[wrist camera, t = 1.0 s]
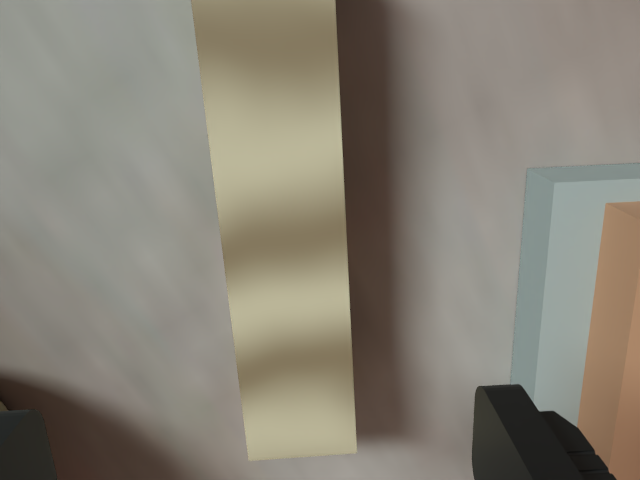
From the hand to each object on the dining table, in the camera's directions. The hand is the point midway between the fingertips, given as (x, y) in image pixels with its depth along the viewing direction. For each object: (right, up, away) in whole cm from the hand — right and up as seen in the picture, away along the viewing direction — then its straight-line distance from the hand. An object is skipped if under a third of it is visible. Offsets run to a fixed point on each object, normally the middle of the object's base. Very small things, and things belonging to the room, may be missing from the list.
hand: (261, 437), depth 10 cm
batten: (-1, +6, +16) cm, 18 cm away
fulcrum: (+15, -1, +19) cm, 24 cm away
